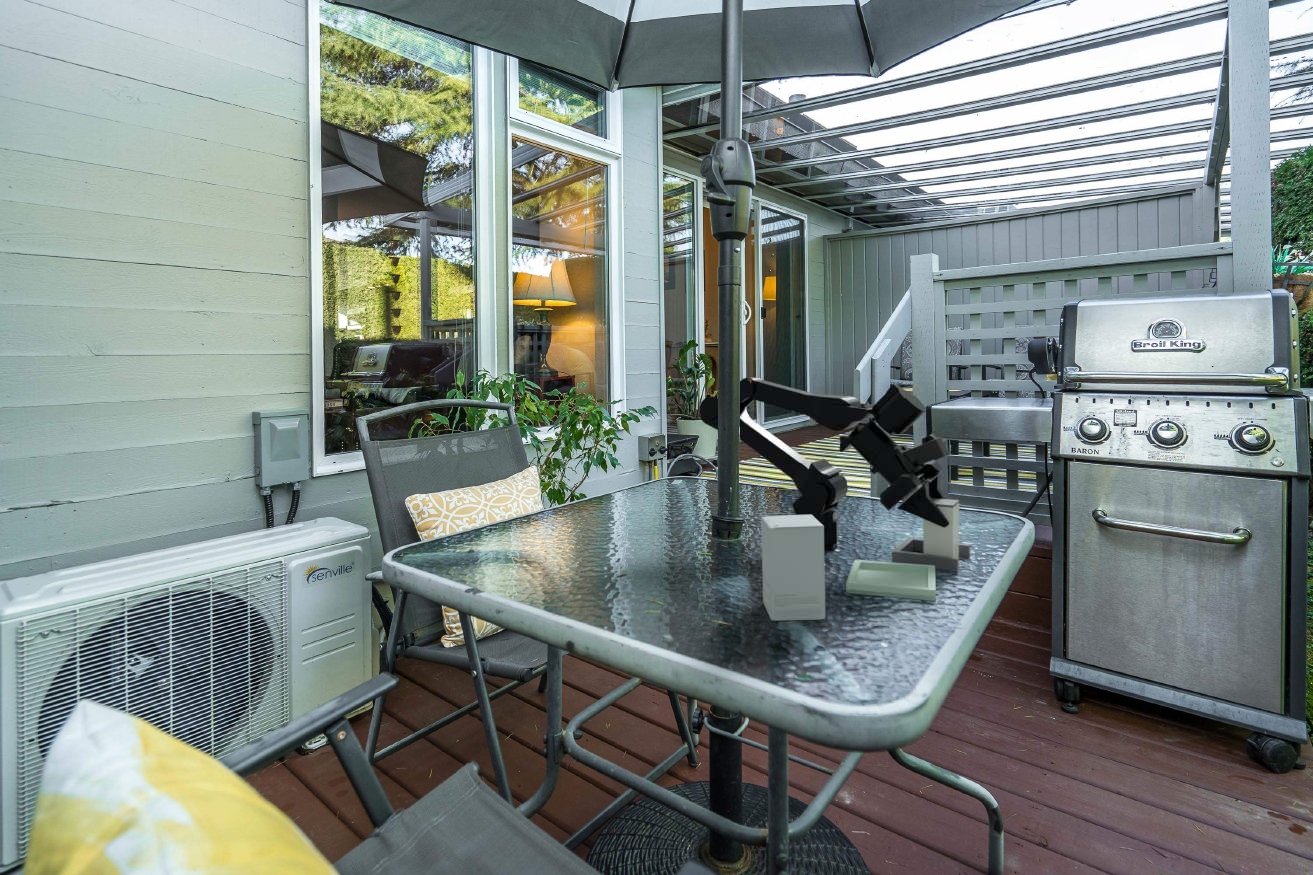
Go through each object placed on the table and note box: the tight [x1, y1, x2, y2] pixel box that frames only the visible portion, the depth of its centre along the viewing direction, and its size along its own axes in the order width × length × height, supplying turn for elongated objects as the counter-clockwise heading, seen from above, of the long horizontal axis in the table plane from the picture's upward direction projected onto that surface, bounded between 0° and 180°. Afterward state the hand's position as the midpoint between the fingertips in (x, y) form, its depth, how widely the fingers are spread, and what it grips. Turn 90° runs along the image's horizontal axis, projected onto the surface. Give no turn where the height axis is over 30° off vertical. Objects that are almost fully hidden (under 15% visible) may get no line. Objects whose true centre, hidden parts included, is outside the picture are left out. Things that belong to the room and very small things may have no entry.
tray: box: [845, 559, 937, 602], centre depth 99 cm, size 12×12×2 cm
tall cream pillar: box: [923, 498, 960, 559], centre depth 109 cm, size 4×4×10 cm
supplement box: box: [760, 514, 826, 622], centre depth 89 cm, size 7×7×13 cm
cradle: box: [891, 537, 971, 573], centre depth 110 cm, size 10×10×2 cm
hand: (950, 522), depth 108 cm, fingers closed on tall cream pillar, 4 cm apart
